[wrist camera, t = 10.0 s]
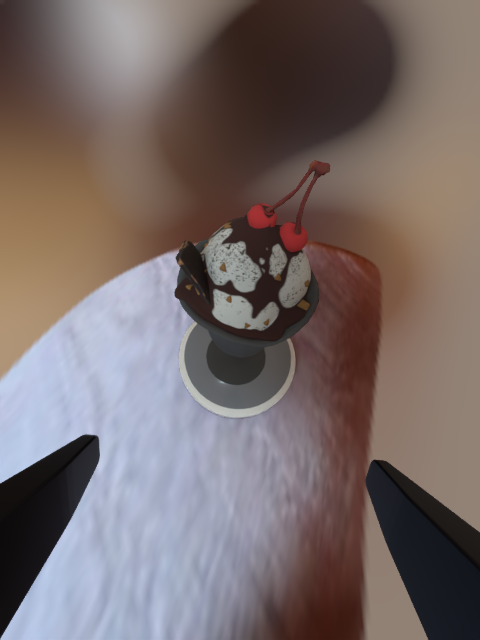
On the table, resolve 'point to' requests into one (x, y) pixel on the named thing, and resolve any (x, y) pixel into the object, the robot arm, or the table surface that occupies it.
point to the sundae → (249, 286)
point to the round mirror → (234, 397)
